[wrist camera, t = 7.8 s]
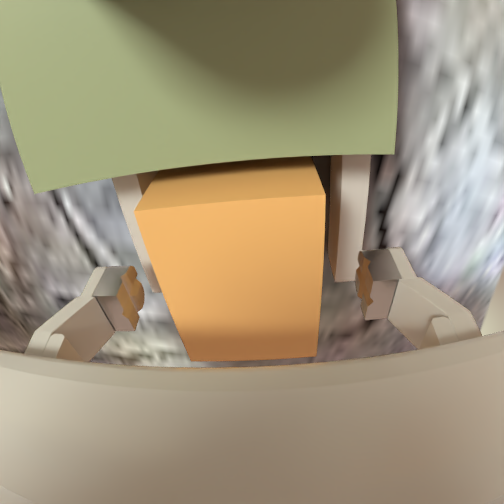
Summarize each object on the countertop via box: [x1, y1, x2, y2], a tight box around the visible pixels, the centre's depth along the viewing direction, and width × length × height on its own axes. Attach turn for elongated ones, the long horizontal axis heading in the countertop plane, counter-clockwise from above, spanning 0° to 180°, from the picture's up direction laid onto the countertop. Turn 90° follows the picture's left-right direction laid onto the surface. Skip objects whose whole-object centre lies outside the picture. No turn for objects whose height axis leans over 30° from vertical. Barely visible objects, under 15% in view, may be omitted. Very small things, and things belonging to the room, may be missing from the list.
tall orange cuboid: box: [134, 156, 326, 361], centre depth 12 cm, size 5×7×5 cm
